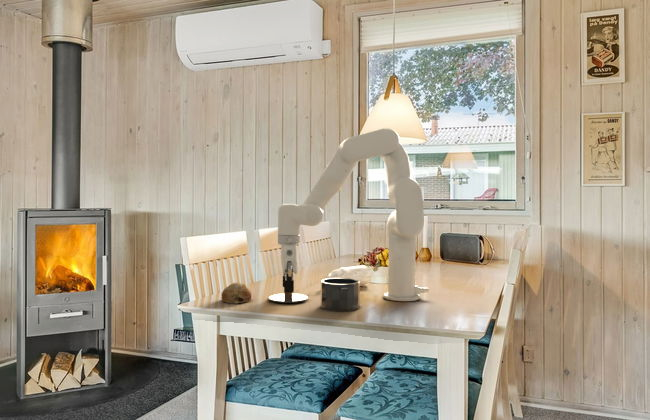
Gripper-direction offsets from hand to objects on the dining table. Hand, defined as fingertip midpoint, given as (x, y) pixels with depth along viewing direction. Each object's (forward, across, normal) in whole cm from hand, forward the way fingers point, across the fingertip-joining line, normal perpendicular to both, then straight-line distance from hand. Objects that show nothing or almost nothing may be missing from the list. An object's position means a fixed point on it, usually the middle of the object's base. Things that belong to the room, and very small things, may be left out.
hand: (288, 289), depth 180 cm
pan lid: (+3, 0, 0) cm, 3 cm away
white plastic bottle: (+4, +22, -25) cm, 34 cm away
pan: (+4, -12, -16) cm, 21 cm away
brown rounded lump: (+4, +1, +18) cm, 18 cm away
